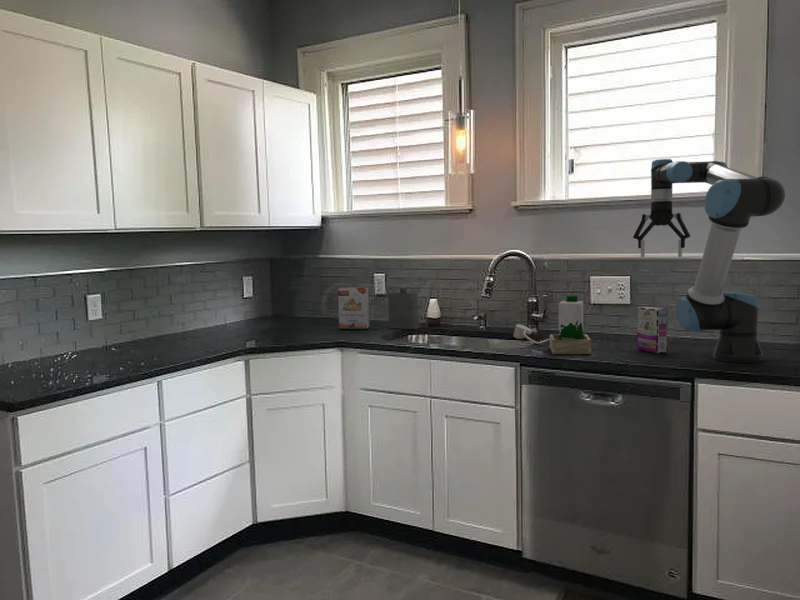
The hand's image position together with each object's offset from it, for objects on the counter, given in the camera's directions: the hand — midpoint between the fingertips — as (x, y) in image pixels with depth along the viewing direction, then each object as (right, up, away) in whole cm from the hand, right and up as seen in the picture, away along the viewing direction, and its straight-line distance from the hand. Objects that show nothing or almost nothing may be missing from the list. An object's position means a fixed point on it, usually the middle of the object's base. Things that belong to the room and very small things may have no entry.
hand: (661, 257), depth 258 cm
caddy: (-35, -36, 0) cm, 50 cm away
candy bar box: (-5, -36, -5) cm, 36 cm away
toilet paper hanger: (-43, -34, +31) cm, 63 cm away
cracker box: (-122, -31, +74) cm, 146 cm away
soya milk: (-34, -35, 0) cm, 49 cm away
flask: (-98, -31, +73) cm, 126 cm away
